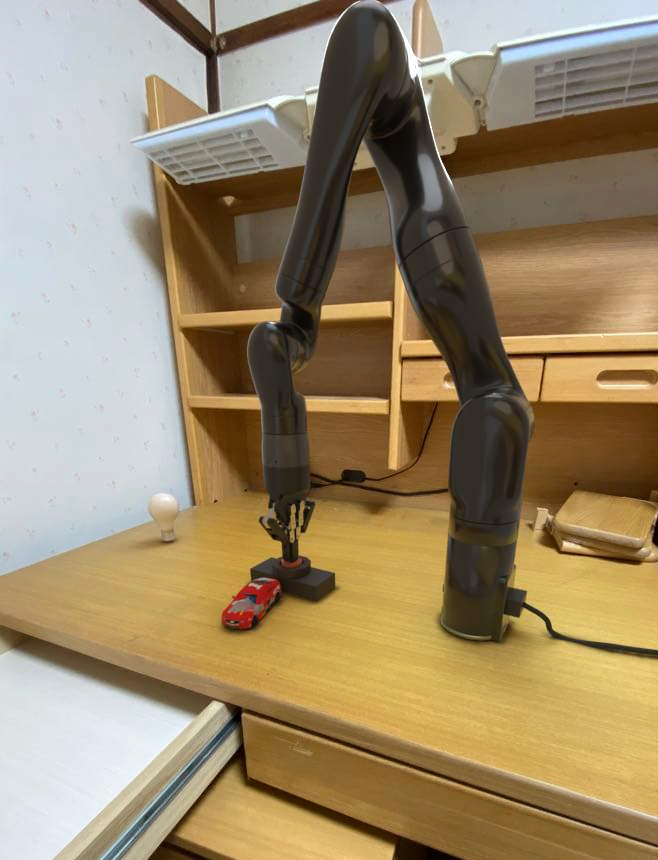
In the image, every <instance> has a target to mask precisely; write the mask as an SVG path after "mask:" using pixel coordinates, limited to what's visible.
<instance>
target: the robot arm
mask: <svg viewBox="0 0 658 860" xmlns="http://www.w3.org/2000/svg"><path fill="white" fill-rule="evenodd" d="M419 69H420V68H419V66H418V62H417V59H416V57H415V55H414V53H413V50H412V48H411V45H410V44H409V42H408V40H407V38H406V35H405V34H404V32H403V30H402V28H401V26H400V24H399V22H398V21H397V20H396V17H395V16H394V15H393V13H392V12H391V10H390V9H389V8H388V7H386V5H384V3H382V2H380V1H378V0H359V1H356V2H354V3H352V4H351V5H350V6H348V8H346V9H345V11H343V12H342V14H341V15H340V16H339V18H338V19H337V21H336V22H335V24H334V26H333V28H332V30H331V33H330V35H329V37H328V40H327V43H326V48H325V51H324V56H323V60H322V64H321V71H320V76H319V81H318V88H317V94H316V99H315V100H316V101H315V105H314V106H315V107H314V113H313V119H312V125H311V130H310V136H309V141H308V148H307V154H306V159H305V165H304V171H303V176H302V181H301V186H300V192H299V196H298V202H297V206H296V208H295V209H296V210H295V214H294V217H293V221H292V225H291V228H290V231H289V235H288V237H287V238H288V239H287V243H286V245H285V248H284V252H283V256H282V258H281V261H280V265H279V269H278V272H277V276H276V279H275V284H274V293H275V295H276V297H277V298H278V300H280V301H281V303H282V304H281V308H280V317H279V321H273V320H267V321H266V320H265V321H262V322H259V323H258V324H257V325H256V326H254V327H253V329H252V330H251V332H250V334H249V337H248V341H247V348H246V355H247V363H248V369H249V371H250V375H251V379H252V382H253V385H254V389H255V392H256V395H257V398H258V401H259V404H260V417H261V419H260V421H261V460H262V461H261V462H262V476H263V477H262V478H263V489H264V490H265V491H266V492H267V493H268V496H269V497H268V502H267V508H268V511H267V513H266V514H265V515H264V516H262V515H261V516H260V517H258V523H259V524H260V526H261V527H262V528H263V529H264V531H265V532H266V533H267V534H268V536H269V537H270V538H271V540H273V541H276V542H280V543H281V557H283V559H284V561H287V562H291V563H292V562H294V561H296V560H297V559H298V555H299V553H300V550H299V549H300V548H299V540H300V539H301V537H302V534H306V532H307V530H308V527H309V525H310V521H311V518H312V516H313V513H314V510H315V507H316V502H315V501H314V500H310V499H309V498H308V494H307V491H308V490H310V488H311V454H310V451H311V449H310V441H309V434H308V413H307V412H308V410H307V409H308V408H307V400H306V398H305V396H304V395H303V394H302V393H300V392H298V391H297V390H296V387H295V382H294V377H293V375H295V374H298V373H300V372H302V371H304V370H305V368H306V367H307V366H308V365H309V363H310V362H311V360H312V358H313V357H314V354H315V351H316V347H317V342H318V338H319V331H320V325H321V320H322V308H323V304H324V301H325V299H326V297H327V293H328V292H329V289H330V286H331V283H332V280H333V278H334V275H335V272H336V269H337V266H338V263H339V259H340V257H341V256H340V255H341V251H342V247H343V243H344V236H345V227H346V217H347V208H348V207H347V205H348V198H349V192H350V191H349V190H350V185H351V180H352V175H353V171H354V166H355V163H356V159H357V155H358V153H359V150H360V147H361V144H362V142H363V143H364V145H365V148H366V149H367V152H368V154H369V156H370V158H371V160H372V162H373V165H374V167H375V169H376V172H377V174H378V177H379V179H380V182H381V185H382V188H383V191H384V195H385V198H386V203H387V212H388V223H389V233H390V241H391V246H392V251H393V256H394V260H395V262H396V266H397V268H398V271H399V274H400V277H401V280H402V283H403V285H404V288H405V290H406V294H407V297H408V299H409V301H410V304H411V306H412V309H413V311H414V312H415V314H416V317H417V318H418V321H419V322H420V324H421V325H422V328H423V329H424V330H425V332H426V334H427V335H428V337H429V338H430V340H431V342H432V343H433V345H434V346H435V347H436V350H437V351H438V352H439V354H440V356H441V357H442V359H443V361H444V363H445V364H446V367H447V369H448V371H449V374H450V376H451V379H452V382H453V385H454V389H455V392H456V396H457V398H458V403H459V406H460V408H459V409H458V411H457V413H456V414H455V416H454V419H453V422H452V425H451V426H452V427H451V433H450V441H449V458H448V479H447V491H448V496H449V501H450V503H449V516H448V529H447V541H446V543H447V544H446V552H445V553H446V554H445V566H444V567H445V568H444V579H443V584H442V590H441V591H442V605H441V613H440V623H441V625H442V627H443V628H444V629H445V630H446V631H447V632H449V633H450V634H451V635H454V636H457V637H460V638H462V639H466V640H472V641H494V642H500V641H501V639H502V637H503V635H504V634H505V633H506V630H507V627H508V624H509V622H510V617H513V618H518V619H520V618H521V615H522V613H523V611H524V609H525V610H527V611H529V612H530V613H532V614H533V615H535V616H537V617H539V618H540V619H541V620H542V621H543V622H544V624H545V628H546V631H547V632H548V634H550V635H551V636H552V637H554V638H555V639H558V640H562V641H566V642H571V643H575V644H578V645H582V646H587V647H591V648H598V649H609V650H615V651H620V652H627V653H635V654H641V655H648V656H658V649H654V648H644V647H637V646H630V645H625V644H624V645H623V644H617V643H611V642H602V641H593V640H583V639H577V638H573V637H569V636H566V635H563V634H561V633H559V632H558V631H556V630H554V629H553V625H552V622H551V620H550V618H549V617H548V616H547V614H545V613H544V612H542V611H541V610H539V609H538V608H536V607H534V606H533V605H530V604H529V603H527V602H526V601H527V595H528V590H524V589H520V588H515V580H516V574H517V564H515V559H516V553H517V547H518V545H517V544H518V539H519V530H520V524H521V516H522V511H523V502H524V500H523V499H524V498H523V492H524V491H523V488H524V480H525V471H526V467H527V466H526V465H527V458H528V451H529V444H530V442H531V440H532V438H533V435H534V433H535V427H536V418H535V413H534V409H533V407H532V405H531V403H530V401H529V399H528V398H527V395H526V393H525V391H524V389H523V388H522V385H521V383H520V381H519V379H518V377H517V375H516V372H515V369H514V368H513V366H512V363H511V361H510V359H509V357H508V354H507V351H506V348H505V346H504V343H503V340H502V337H501V331H500V328H499V324H498V319H497V315H496V311H495V306H494V302H493V297H492V294H491V290H490V286H489V283H488V279H487V276H486V272H485V269H484V265H483V262H482V258H481V256H480V253H479V249H478V246H477V244H476V241H475V237H474V234H473V231H472V228H471V225H470V223H469V220H468V218H467V215H466V213H465V210H464V207H463V205H462V203H461V201H460V198H459V196H458V193H457V191H456V189H455V187H454V184H453V182H452V180H451V178H450V176H449V174H448V172H447V170H446V168H445V166H444V163H443V162H442V159H441V157H440V154H439V151H438V148H437V144H436V141H435V137H434V133H433V129H432V125H431V124H432V123H431V120H430V116H429V112H428V108H427V104H426V103H427V101H426V97H425V94H424V93H425V92H424V89H423V84H422V79H421V74H420V70H419Z"/></svg>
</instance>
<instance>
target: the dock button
mask: <svg viewBox="0 0 658 860" xmlns="http://www.w3.org/2000/svg"><path fill="white" fill-rule="evenodd" d="M300 565H302V559H301V558H299V557H298V559H297V560H296V561H294V562H292V563H291V562H287V561H284V559H282V560H281V566H283V567H297V566H300Z"/></svg>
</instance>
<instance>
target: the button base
mask: <svg viewBox="0 0 658 860" xmlns="http://www.w3.org/2000/svg"><path fill="white" fill-rule="evenodd" d="M298 557H299V558H301V559H302V565H300V566H297V567H283V566H281V560H282V559H283V557H282V556H278V557H277V558H276V557H269V558H267V559H265V560H263V561H262V562H260V563H258V564H256V565H254V566H252V567H251V568H249V573H250V582H251V581H253V580H256V579H259V578H271V579H276V580H278V581H279V582H280V584H281V591H282V593H284V594H289V595H291V596H295V597H298V598H301V599H305V600H308V601H312V602H314V603H316V602H319V601H320V600H321V599H323V597H325V596H326V595H328V594H329V593H330V592H331V591H333V590H334V589H336V573H335V572H333V571H329V570H325V569H321V568H316V567H313V566H312V561H311V559H309V558H308V557H307V556H303V555H299V554H298Z"/></svg>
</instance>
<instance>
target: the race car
mask: <svg viewBox="0 0 658 860" xmlns="http://www.w3.org/2000/svg"><path fill="white" fill-rule="evenodd" d="M282 594H283V592H282V591H281V584H280V582H279V581H278V580H276V579H271V578H259V579H256V580H253V581H251V580H250V581H249V582H248V583H246V585H244V586H243V587H242V588H241V589H240V590H239V591H238V592H237V594H236V595H232V596H231V598H232V601H231V602H230V603H229V604H228V605H227V606H226V608H225V609H224V610H223V611H222V612H221V622H222V624H223V626H225V627H226V628H229V629H232V630H233V629H234V630H244V629H250V628H251V629H252V628H256V627H257V625H258V623H259V621H260V620H261V619H262V618H263V617H264V616H265V615H266V614H267V613H268V612H269V610H271V609H272V608H273V607H274V605H275V604H278V603H279V601H280V600H281V599H280V598H281V597H282Z"/></svg>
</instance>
